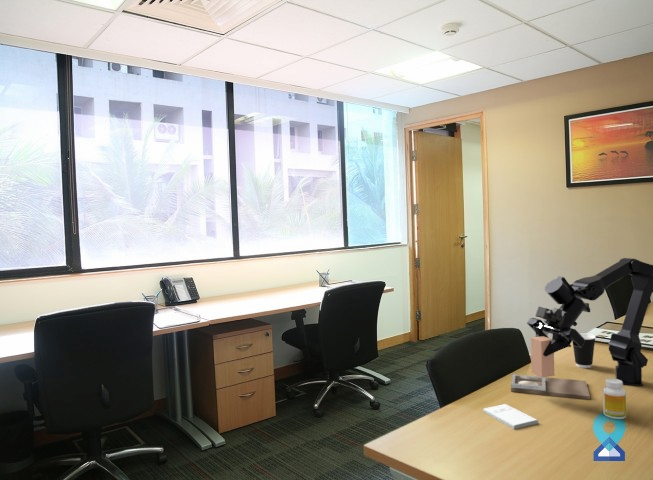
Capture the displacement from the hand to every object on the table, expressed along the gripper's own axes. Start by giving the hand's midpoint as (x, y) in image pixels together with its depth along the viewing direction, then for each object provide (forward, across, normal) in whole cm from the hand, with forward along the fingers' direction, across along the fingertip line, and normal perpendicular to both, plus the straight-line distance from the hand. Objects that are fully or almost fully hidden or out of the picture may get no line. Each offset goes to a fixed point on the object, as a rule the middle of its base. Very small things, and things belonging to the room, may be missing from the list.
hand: (538, 353), depth 147 cm
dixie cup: (-14, -18, +34) cm, 41 cm away
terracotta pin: (+4, 0, +6) cm, 7 cm away
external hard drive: (+22, +9, -2) cm, 24 cm away
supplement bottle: (+3, +18, +16) cm, 25 cm away
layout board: (+4, -6, +15) cm, 17 cm away
